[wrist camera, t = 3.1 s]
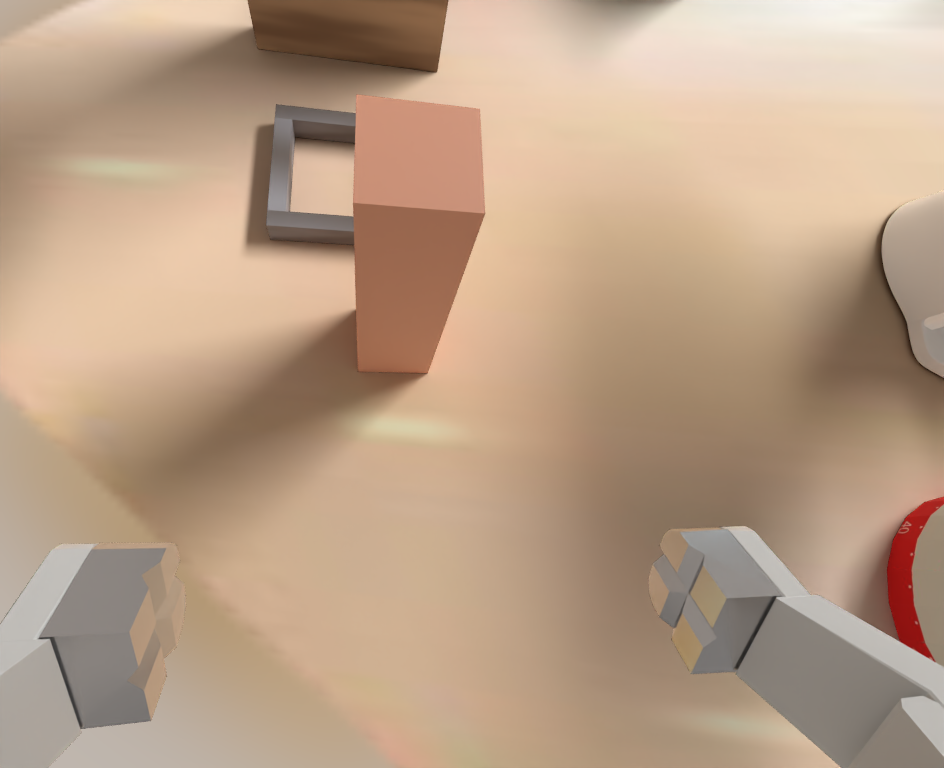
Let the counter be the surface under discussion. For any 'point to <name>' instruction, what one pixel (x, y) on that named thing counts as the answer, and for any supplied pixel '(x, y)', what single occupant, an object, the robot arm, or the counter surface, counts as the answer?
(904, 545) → the kitchen timer
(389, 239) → the peg
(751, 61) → the counter surface
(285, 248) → the counter surface
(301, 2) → the socket stand
